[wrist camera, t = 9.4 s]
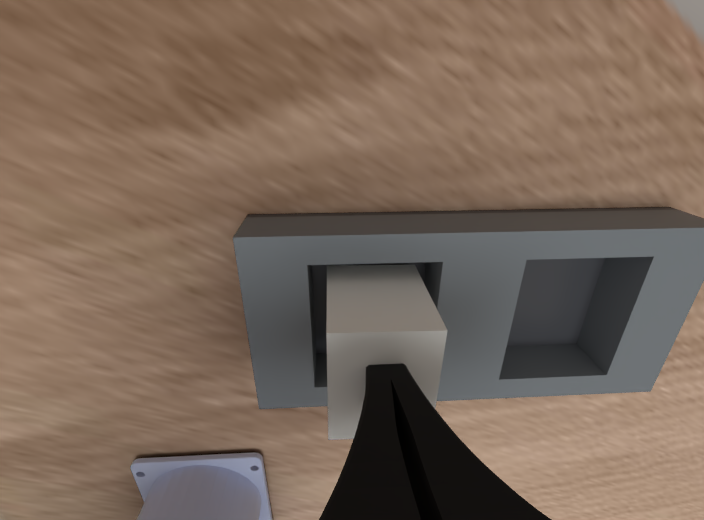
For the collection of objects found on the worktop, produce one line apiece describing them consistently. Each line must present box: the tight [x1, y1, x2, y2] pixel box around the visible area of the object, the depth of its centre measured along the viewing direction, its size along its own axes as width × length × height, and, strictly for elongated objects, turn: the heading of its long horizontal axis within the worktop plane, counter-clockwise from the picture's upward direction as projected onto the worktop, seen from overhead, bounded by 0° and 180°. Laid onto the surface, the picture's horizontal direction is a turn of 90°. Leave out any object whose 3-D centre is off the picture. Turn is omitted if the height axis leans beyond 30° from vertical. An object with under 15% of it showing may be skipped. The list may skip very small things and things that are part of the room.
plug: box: [326, 264, 448, 440], centre depth 15 cm, size 5×4×6 cm
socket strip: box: [233, 207, 704, 409], centre depth 17 cm, size 9×20×3 cm, turn 90°
